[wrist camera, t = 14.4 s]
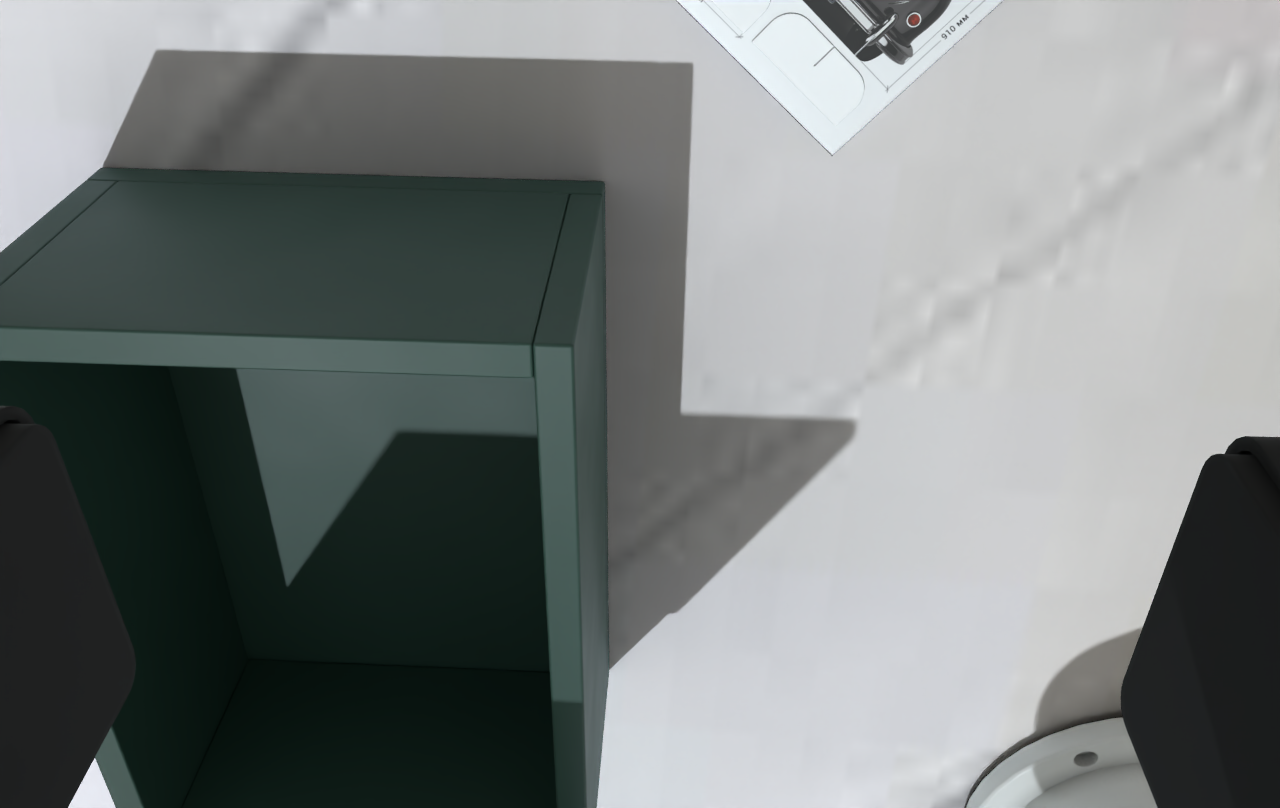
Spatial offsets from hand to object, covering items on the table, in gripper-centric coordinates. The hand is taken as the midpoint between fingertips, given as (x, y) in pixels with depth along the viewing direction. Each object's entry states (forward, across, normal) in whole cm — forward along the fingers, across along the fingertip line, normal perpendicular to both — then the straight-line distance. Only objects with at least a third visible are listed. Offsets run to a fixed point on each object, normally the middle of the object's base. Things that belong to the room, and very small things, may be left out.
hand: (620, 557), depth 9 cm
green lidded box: (+22, +9, +16) cm, 28 cm away
